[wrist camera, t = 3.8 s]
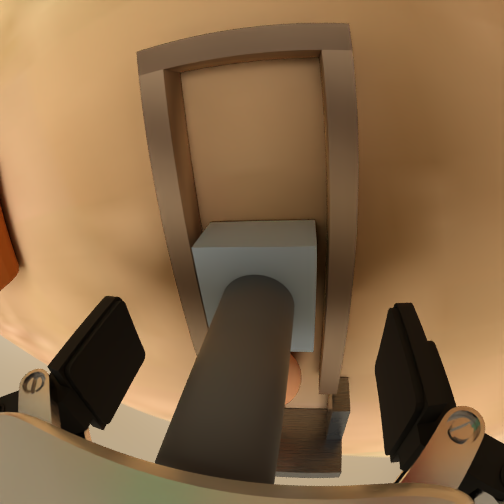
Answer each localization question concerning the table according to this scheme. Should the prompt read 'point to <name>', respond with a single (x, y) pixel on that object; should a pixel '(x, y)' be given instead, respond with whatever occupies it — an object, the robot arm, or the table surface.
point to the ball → (293, 379)
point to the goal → (314, 438)
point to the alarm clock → (6, 255)
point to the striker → (244, 347)
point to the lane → (181, 175)
